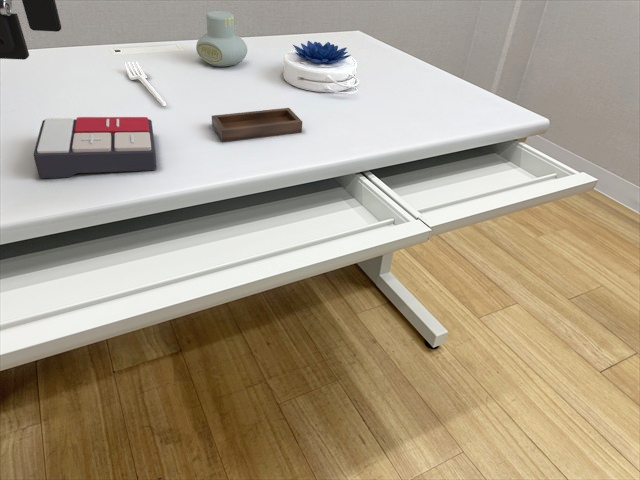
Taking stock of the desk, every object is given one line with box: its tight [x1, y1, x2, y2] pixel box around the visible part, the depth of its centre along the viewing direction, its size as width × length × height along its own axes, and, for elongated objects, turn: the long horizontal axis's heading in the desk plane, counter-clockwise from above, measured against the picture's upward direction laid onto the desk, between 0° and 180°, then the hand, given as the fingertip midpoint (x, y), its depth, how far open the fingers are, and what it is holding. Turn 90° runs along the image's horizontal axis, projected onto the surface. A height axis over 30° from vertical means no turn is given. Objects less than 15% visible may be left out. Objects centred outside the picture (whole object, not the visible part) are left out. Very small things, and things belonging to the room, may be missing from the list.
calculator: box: [33, 116, 157, 179], centre depth 68 cm, size 11×4×15 cm
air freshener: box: [195, 10, 248, 68], centre depth 102 cm, size 11×8×10 cm
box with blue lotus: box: [282, 40, 360, 95], centre depth 99 cm, size 7×16×20 cm
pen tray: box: [211, 107, 303, 143], centre depth 80 cm, size 14×6×2 cm, turn 115°
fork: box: [124, 60, 167, 107], centre depth 90 cm, size 3×20×2 cm, turn 33°
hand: (30, 43), depth 49 cm, fingers open, 9 cm apart
